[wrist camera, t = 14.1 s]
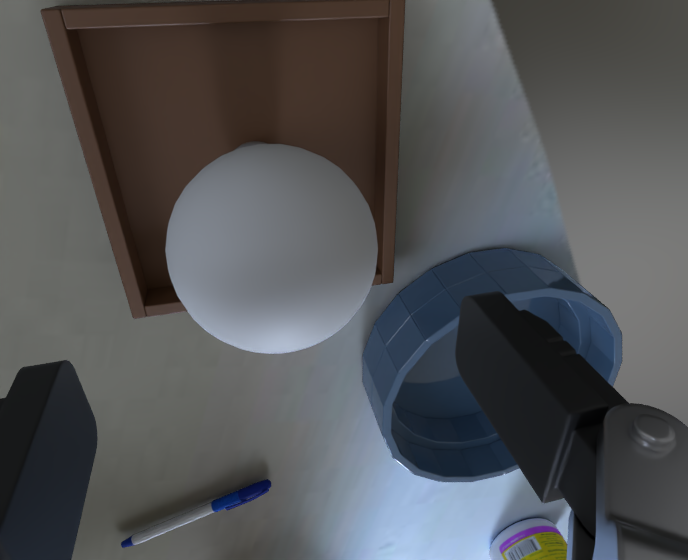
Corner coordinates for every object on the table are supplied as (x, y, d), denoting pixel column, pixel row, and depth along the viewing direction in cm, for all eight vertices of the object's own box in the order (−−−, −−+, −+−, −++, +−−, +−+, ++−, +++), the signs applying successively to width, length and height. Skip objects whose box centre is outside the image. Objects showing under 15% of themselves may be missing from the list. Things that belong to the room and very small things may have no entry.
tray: (138, 294, 24) (133, 319, 22) (56, 5, 17) (39, 9, 16) (381, 262, 26) (393, 283, 24) (388, -5, 20) (405, -3, 18)
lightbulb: (197, 68, 19) (184, 155, 10) (344, 116, 21) (445, 225, 12) (168, 211, 21) (135, 387, 12) (301, 241, 24) (357, 408, 15)
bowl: (360, 443, 33) (379, 502, 29) (361, 263, 26) (386, 312, 22) (548, 406, 36) (587, 456, 32) (597, 232, 28) (656, 271, 25)
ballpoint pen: (266, 473, 33) (268, 486, 32) (272, 480, 33) (273, 493, 32) (120, 537, 33) (118, 552, 32) (128, 543, 33) (126, 558, 32)
